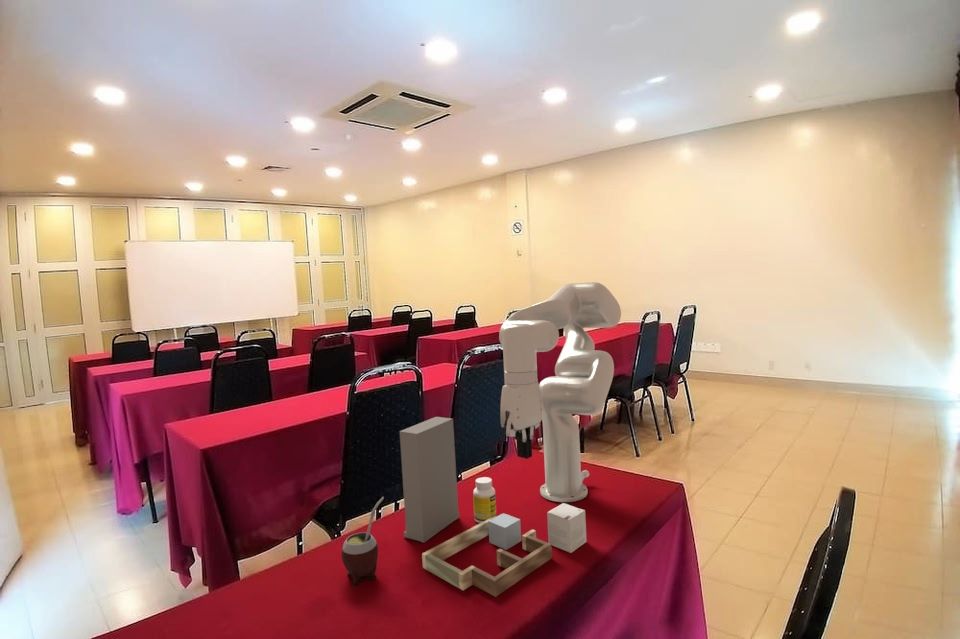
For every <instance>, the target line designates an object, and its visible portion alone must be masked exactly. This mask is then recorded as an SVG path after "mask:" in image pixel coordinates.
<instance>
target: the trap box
mask: <svg viewBox="0 0 960 639" xmlns="http://www.w3.org/2000/svg"><path fill="white" fill-rule="evenodd" d="M497 516H498V515H497V514H496V515H495V516H493V517H491V518H489V519H487V520H485V521H484V522H482V523H478V524H476V525H474V526H472V527H471V528H469V529H466V530H464V531H463V532H461V533H459V534H457V535H455V536H453V537H452V538H451V537H450V539H448V540H445V541H444V542H442V543H440V544H437V545H436V546H434V547H432V548H430V549H428V550H426V551H425V552H422V553H421V559H422V568H423V569H424V570H425V571H427V572H430V573H432V575H435V576H437V577H438V578H440V579H443V580H444V581H445V582H447V583H449V584H450V585H452V586H454V587H456V588H458V589H460V590H461V591H465V590H466V589H468V588H469V587H471V586H474V587H477V588H478V589H480V590H482V591H483V592H485V593H488V594H489V595H491V596H493V597H498V596H499V595H501V594H502V593H503V592H505V591H506V590H508V589H509V588H511V587H512V586H513V585H515V584H516V583H519V581H521V580H523V578H526V576H528V575H529V574H531V573H532V572H534V571H535V570H537V569H538V568H540V567H541V566H542V565H544V564H545V563H547V562H548V561H550V560H551V559H552V558H553V555H552V545H551V544H550V543H548V542H547V541H544V540H542V539H540V538H537V531H536V530H535V529H530V530H529V531H527V532H526V533H525V532H524V534H521V542H522V543H521V544H522V550H524V551H526V552H528V553H529V554H527V555H526V556H524V557H522V558H521V557H519V556H518V555H515V554H513V553H511V552H509V551H507V550H505V549H503V548H498V549H496V565H497V566H499V567H501V568H503V569H504V570H502V571H501V572H499V573H498V574H497V575H495V576H494V575H492V574H490V573H488V572H486V571H484V570H482V569H480V568H478V567H476V566H475V565H470V566H468V567H467V568H465V569H463V570H462V569H460V568H458V567H456V566H455V565H452V564H450V563H448V562H446V561H445V560H446V559H448V558H450V557H451V556H454V555H455V554H457V553H458V552H461V551H462V550H464V549H466V548H468V547H469V546H471V545H473V544H474V543H475V544H476V543H477V542H479V541H480V540H482V539H483V538H487V536H489V526H488V521H489V520H491V519H493V518H495V517H497Z"/></svg>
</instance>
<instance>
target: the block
mask: <svg viewBox="0 0 960 639" xmlns="http://www.w3.org/2000/svg"><path fill="white" fill-rule="evenodd" d="M488 526H489V535H488V540H489V544H491V545H495V546H496V547H499V549H502V550H504V551H507V550H509V549H510V548H512V547H514V546H515V545H517V544H518V543H520V542H522V530H521V518H517V517H515V516H513V515H512V516H511V514H506V513H504V512H503V513H500V514H499V515H497V517H495V518H493V519H491V520H489V521H488Z"/></svg>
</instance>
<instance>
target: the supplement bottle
mask: <svg viewBox="0 0 960 639" xmlns="http://www.w3.org/2000/svg"><path fill="white" fill-rule="evenodd" d="M472 495H473V519H474V521H475V523H476V522H477V523H478V524H480V523H482V522H484V521H485V520H487V519H489V518H491V517H493V516H495V515H497V504H496V503H497V502H496V501H497V499H496V489H495V488H494V487H493V479H492V478H491V477H489V476H488V477H487V476H483V477H478V478H476V479H475V488H474V489H473V492H472Z"/></svg>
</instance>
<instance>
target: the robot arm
mask: <svg viewBox="0 0 960 639" xmlns="http://www.w3.org/2000/svg"><path fill="white" fill-rule="evenodd" d="M621 317H622V309H621V306H620V304H619V301H618V299H616V297H615V296H614V294H613V293H612V292H611V291H610V290H609V289H608V288H607V287H606V286H605V285H604V284H602V283H600V282H596V281H595V282H594V281H593V282H574V283H573V282H572V283H567V284H563V285H562V286H559V288H558V289H557V290H556V291H555V292H554V293H553V294H551V295H550V297H548V298H547V299H546V300H543V301H541V302H538V303H535V304H533V305H530V306H527V307H524V308H522V309H520V310H518V311H515V312H513V313H512V314H511V315H510V316H509V317H508V318H507V319H505V321H504V322H503V323H502V324H501V327H500V330H499V333H498V334H499V337H498V340H499V342H500V345H501V346H502V355H503V357H502V358H503V374H504V375H503V376H504V378H503V379H504V385H502V389H501V395H500V427H501V428H503V429H505V436H506V437H510V438H512V437H513V439H514V440H515V442H516V455H517V457H518V458H521V459H522V458H523V459H525V460H528V459H530V458H532V457H533V444H532V442H533V439H534V433H535V430H536V429H538V428H539V427H540V426H541V422H542V434H543V435H542V436H543V438H542V439H543V440H542V441H543V457H544V458H543V460H544V477H545V479H544V480H545V483H544V484H542V485H541V486H540V488H539V493H540V495H541V496H542V497H543V498H544V499H545V500H549V501H552V502H557V503H574V502H577V501H581V500H583V499H584V498H586V497H587V496H588V488H587V486H586V485H585V484H583V481H584V480H585V479H587V478H588V477H589V476H590V471H588V470H587V469H585V470H581V467H582V465H581V447H580V446H581V443H580V442H581V441H580V428H579V424H578V423H577V421H576V419H575V417H574V416H573V415H582V416H597V415H598V414H599V413H601V412H602V410H603V408H604V405H605V403H606V400H607V398H608V395H609V391H610V388H611V385H612V382H613V378H614V373H615V364H614V360H613V357H612V356H611V354H610V353H609V352H607V351H604V350H595V346H596V345H595V341H594V340H593V338H592V337H591V336H590V334H589V333H588V332H587V331H585V329H590V328H591V329H595V328H596V329H600V328H601V329H603V328H604V329H608V328H609V329H610V328H615V327H616V326H618V325H619V323H620V321H621ZM560 329H563V330H564V335H565V342H564V345H563V347H562V348H561V352H560V354H559V356H558V358H557V361H556V363H555V366H554V373H555V375H554V376H548V377H545V378H544V379H542V380H541V381H540V382H539V381H538V364H537V361H538V360H537V358H538V357H537V353H541V352H542V353H545V352H550V351H551V350H553V349H555V347H556V346H557V344H558V342H559V338H560V332H559V330H560Z"/></svg>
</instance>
